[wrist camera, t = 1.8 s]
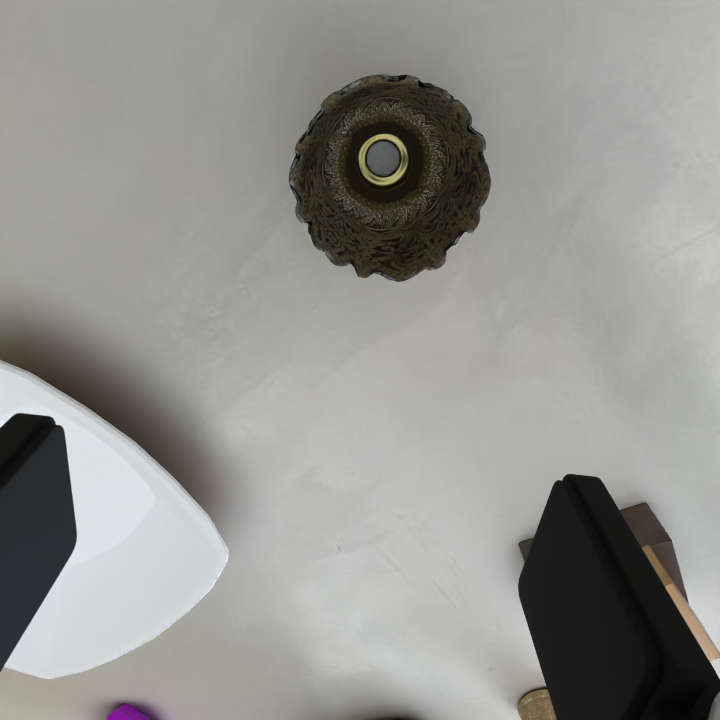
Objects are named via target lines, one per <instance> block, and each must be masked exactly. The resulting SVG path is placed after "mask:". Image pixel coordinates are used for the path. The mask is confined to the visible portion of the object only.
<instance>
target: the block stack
mask: <svg viewBox="0 0 720 720" xmlns="http://www.w3.org/2000/svg"><path fill="white" fill-rule="evenodd" d="M620 512H621V514H622V516H623V517H624V519H625V521H626V522H627V524H628V526H629V527H630V529H631V531H632V532H633V534H634V536H635V537H636V539H637V541H638V543H639V544H640V546H641V548H642V549H643V551H644V553H645V554H646V556H647V558H648V559H649V561H650V563H651V564H652V566H653V568H654V569H655V571H656V573H657V574H658V576H659V578H660V579H661V581H662V583H663V584H664V586H665V588H666V589H667V591H668V593H669V594H670V596H671V598H672V599H673V601H674V603H675V605H676V606H677V608H678V610H679V611H680V613H681V615H682V616H683V618H684V620H685V621H686V623H687V625H688V626H689V628H690V630H691V631H692V633H693V635H694V636H695V638H696V640H697V641H698V643H699V645H700V646H701V648H702V650H703V651H704V653H705V655H706V656H707V658H708V660H709V661H712V660H715V659H717V658H720V653H719V651H718V650H717V648H716V646H715V645H714V643H713V642H712V640H711V638H710V637H709V635H708V634H707V632H706V630H705V629H704V627H703V626H702V624H701V622H700V621H699V619H698V617H697V616H696V614H695V613H694V611H693V610H692V609H691V607H690V606H689V602H688V599H687V595H686V591H685V588H684V584H683V580H682V577H681V573H680V569H679V565H678V562H677V558H676V554H675V551H674V547H673V543H672V540H671V538H670V537H669V535H668V534H667V532H666V531H665V529H664V528H663V526H662V525H661V523H660V522H659V520H658V519H657V518H656V516H655V515H654V513H653V512H652V510H651V509H650V507H649V506H648V504H647V503H644V504H640V505H637V506H634V507H631V508H628V509H625V510H622V511H620ZM533 539H534V538H533ZM533 539H530V540H527V541H524V542H521V543H519V547H520V550H521V553H522V556H523V559H524V562H525V561H526V558H527V556H528V553H529V550H530V547H531V545H532V542H533Z"/></svg>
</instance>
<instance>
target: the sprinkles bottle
mask: <svg viewBox="0 0 720 720" xmlns="http://www.w3.org/2000/svg"><path fill="white" fill-rule="evenodd" d="M518 712H519V716H520V717H521V719H522V720H557V719H556V716H555V712H554V709H553V706H552V702H551V699H550V696H549V693H548V689H543V690H537V691H533V692H531V693H529V694H527V695H526V696H525V697H524V698H522V699H521V701H520V703H519V705H518Z"/></svg>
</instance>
